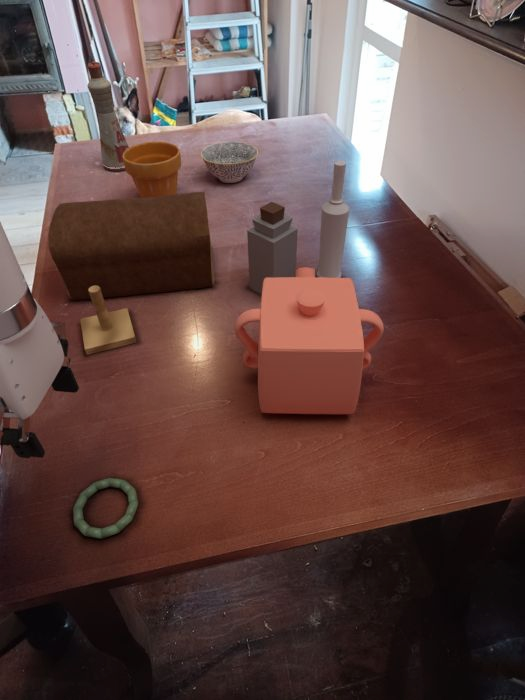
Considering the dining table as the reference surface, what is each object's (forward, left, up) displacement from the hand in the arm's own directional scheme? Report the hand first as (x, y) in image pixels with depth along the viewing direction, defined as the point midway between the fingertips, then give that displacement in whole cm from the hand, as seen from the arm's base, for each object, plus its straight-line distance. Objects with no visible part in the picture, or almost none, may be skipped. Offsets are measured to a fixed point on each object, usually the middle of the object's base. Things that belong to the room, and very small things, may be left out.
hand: (50, 420), depth 57 cm
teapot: (+39, +10, -15) cm, 42 cm away
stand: (+8, +31, -14) cm, 35 cm away
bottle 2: (+54, +31, -15) cm, 63 cm away
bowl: (+50, +86, -15) cm, 100 cm away
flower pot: (+28, +80, -15) cm, 86 cm away
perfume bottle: (+42, +33, -15) cm, 55 cm away
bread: (+18, +48, -15) cm, 53 cm away
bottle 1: (+21, +107, -15) cm, 110 cm away
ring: (+3, -5, -14) cm, 15 cm away
